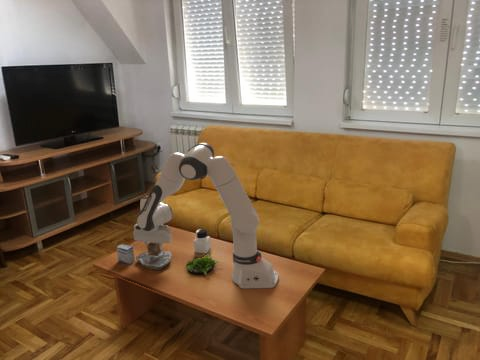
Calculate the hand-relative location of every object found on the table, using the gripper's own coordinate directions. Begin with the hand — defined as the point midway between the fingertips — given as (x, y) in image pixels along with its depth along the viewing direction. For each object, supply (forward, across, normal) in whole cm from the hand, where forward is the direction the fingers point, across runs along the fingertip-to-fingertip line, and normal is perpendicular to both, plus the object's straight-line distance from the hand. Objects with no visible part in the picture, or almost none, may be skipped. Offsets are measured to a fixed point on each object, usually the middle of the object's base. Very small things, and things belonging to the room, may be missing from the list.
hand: (154, 248), depth 218 cm
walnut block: (+3, 0, 0) cm, 3 cm away
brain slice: (+8, 0, 0) cm, 8 cm away
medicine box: (+8, +16, +2) cm, 18 cm away
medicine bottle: (+8, -21, -16) cm, 27 cm away
